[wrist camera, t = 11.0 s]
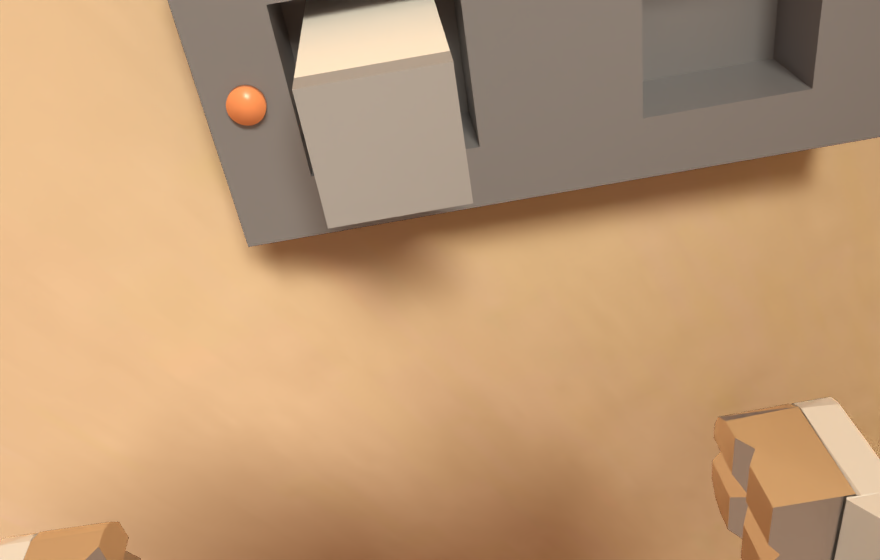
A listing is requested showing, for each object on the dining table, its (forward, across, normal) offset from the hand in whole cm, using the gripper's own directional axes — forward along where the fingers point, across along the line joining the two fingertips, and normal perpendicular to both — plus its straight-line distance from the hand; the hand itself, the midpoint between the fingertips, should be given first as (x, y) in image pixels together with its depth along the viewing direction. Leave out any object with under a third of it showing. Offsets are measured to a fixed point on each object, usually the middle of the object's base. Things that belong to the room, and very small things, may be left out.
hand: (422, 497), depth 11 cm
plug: (+20, 0, 0) cm, 20 cm away
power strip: (+21, -5, 0) cm, 22 cm away
